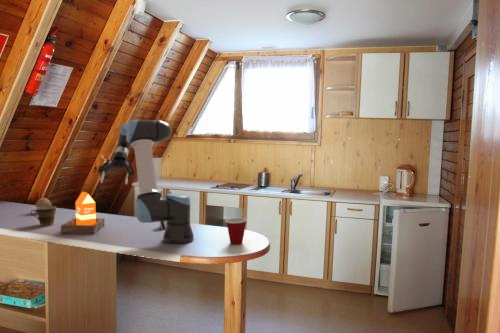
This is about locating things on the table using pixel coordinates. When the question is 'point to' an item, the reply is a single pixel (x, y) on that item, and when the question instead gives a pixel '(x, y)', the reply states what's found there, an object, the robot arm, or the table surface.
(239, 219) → the plastic cup
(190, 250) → the table surface
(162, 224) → the hinge
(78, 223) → the orange juice
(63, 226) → the tray
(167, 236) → the robot arm
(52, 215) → the ceramic cup
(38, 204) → the natural sponge
